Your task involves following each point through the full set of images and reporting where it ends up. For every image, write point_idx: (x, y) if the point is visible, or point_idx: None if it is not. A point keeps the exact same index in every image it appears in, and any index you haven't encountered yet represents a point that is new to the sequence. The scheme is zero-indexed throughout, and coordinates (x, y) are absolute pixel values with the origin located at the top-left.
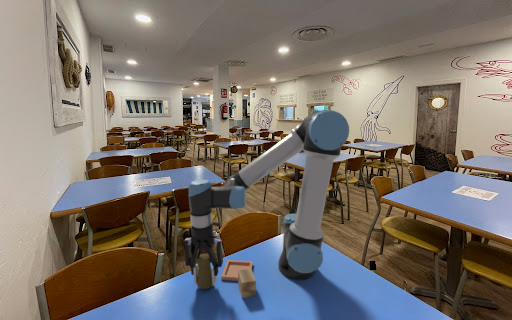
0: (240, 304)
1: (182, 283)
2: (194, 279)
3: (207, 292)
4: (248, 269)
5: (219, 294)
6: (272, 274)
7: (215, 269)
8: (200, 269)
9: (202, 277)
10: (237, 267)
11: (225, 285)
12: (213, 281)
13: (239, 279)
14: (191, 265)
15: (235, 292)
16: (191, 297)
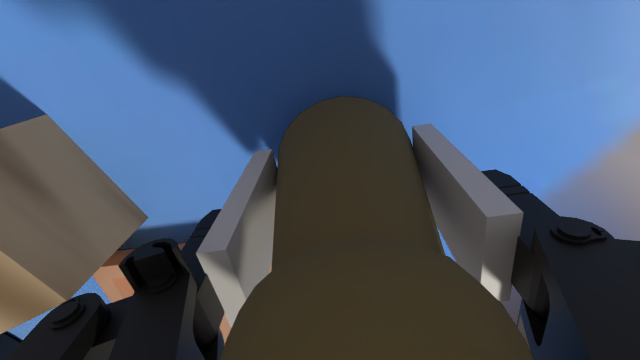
0: (9, 52)
1: (541, 140)
2: (444, 140)
3: (303, 101)
4: (5, 324)
5: (208, 105)
6: (36, 317)
7: (141, 247)
8: (388, 209)
9: (344, 144)
10: (229, 329)
11: (219, 194)
12: (252, 165)
13: (48, 227)
14: (593, 244)
15: (119, 152)
16: (408, 7)
